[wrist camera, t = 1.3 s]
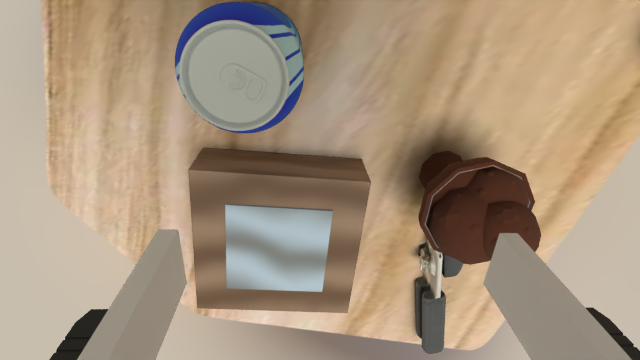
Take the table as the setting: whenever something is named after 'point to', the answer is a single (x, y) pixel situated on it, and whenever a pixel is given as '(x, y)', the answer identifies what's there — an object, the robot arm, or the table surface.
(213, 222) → the walnut plinth
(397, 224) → the table surface
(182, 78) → the beer can
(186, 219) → the table surface
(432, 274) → the can opener
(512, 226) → the ice cream bowl
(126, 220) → the table surface
